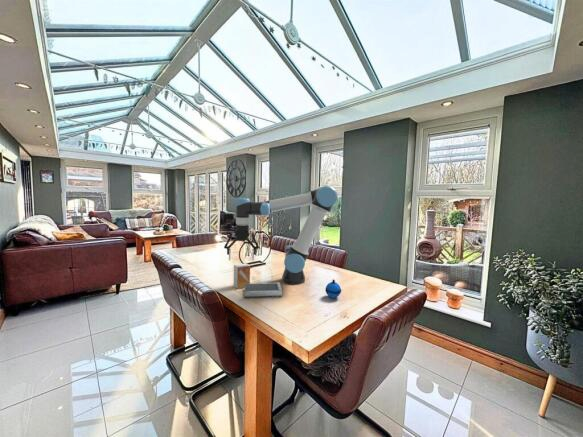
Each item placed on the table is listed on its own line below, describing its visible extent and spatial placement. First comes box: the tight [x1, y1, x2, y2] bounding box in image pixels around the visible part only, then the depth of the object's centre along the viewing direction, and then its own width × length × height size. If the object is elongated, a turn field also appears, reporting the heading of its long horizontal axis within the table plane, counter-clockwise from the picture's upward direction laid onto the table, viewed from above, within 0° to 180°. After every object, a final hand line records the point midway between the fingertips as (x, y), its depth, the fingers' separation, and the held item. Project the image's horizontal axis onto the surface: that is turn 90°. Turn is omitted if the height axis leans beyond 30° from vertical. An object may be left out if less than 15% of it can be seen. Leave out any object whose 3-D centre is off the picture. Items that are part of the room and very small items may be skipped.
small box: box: [233, 262, 251, 290], centre depth 148 cm, size 8×6×13 cm
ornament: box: [325, 279, 342, 299], centre depth 136 cm, size 9×9×10 cm
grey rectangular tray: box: [243, 281, 283, 299], centre depth 139 cm, size 20×13×4 cm, turn 99°
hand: (241, 260), depth 147 cm, fingers open, 13 cm apart
